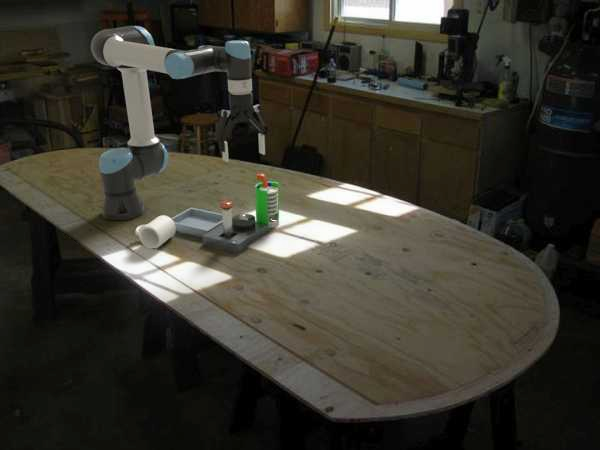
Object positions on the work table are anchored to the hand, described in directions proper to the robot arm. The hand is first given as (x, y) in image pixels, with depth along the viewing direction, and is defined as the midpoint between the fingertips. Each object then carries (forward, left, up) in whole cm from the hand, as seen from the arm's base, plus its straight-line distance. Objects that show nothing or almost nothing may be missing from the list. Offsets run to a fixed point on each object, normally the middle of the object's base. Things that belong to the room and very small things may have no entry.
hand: (244, 157), depth 198 cm
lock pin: (0, -12, -26) cm, 29 cm away
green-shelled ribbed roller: (+3, +7, -26) cm, 27 cm away
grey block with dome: (0, -8, -26) cm, 27 cm away
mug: (-23, -23, -26) cm, 41 cm away
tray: (-17, -6, -26) cm, 31 cm away
